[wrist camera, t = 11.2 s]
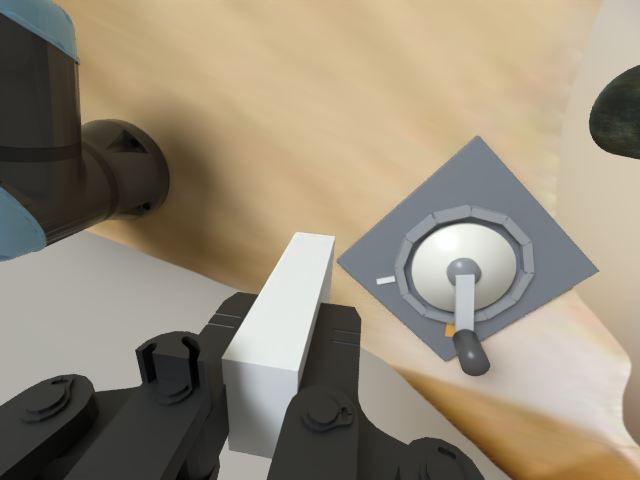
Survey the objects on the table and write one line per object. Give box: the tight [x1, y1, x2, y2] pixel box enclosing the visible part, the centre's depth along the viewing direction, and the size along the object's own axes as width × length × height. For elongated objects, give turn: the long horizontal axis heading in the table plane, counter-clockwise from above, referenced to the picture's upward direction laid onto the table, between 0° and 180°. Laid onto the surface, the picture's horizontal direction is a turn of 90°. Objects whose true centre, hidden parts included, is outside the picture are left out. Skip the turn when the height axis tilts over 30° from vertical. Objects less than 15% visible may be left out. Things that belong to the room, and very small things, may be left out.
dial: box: [411, 222, 516, 376], centre depth 44 cm, size 20×14×8 cm
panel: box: [336, 136, 599, 362], centre depth 46 cm, size 26×26×2 cm
